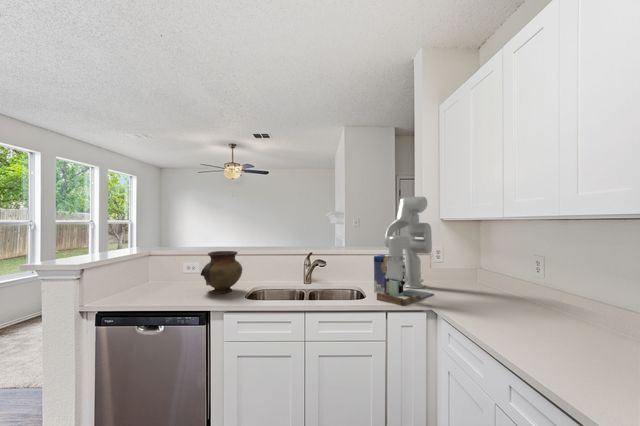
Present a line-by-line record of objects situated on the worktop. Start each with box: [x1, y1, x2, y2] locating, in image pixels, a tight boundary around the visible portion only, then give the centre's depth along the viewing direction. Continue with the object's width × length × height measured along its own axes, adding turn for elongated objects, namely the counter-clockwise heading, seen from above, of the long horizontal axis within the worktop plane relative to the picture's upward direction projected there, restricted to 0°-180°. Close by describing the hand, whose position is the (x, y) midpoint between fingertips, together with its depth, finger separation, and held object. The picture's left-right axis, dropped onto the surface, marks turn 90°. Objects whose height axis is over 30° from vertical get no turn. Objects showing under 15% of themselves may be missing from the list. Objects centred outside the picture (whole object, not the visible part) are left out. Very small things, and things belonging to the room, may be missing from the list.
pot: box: [200, 250, 243, 295], centre depth 189 cm, size 25×24×25 cm
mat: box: [402, 288, 435, 300], centre depth 181 cm, size 14×16×1 cm
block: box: [388, 280, 404, 297], centre depth 168 cm, size 6×5×8 cm
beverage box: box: [373, 254, 389, 294], centre depth 190 cm, size 7×11×22 cm, turn 150°
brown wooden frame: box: [376, 291, 422, 306], centre depth 169 cm, size 19×16×4 cm
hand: (396, 291), depth 168 cm, fingers closed on block, 5 cm apart
